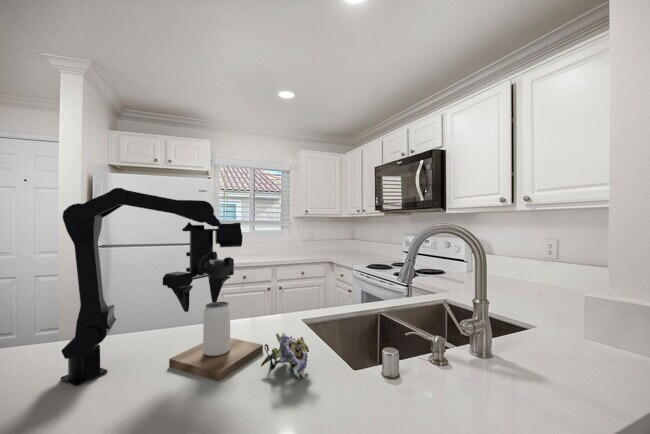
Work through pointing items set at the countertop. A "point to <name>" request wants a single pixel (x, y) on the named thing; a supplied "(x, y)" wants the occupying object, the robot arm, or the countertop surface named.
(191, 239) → the robot arm
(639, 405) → the countertop surface
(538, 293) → the countertop surface
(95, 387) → the countertop surface
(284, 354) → the passion flower
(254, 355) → the cutting board
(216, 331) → the can
